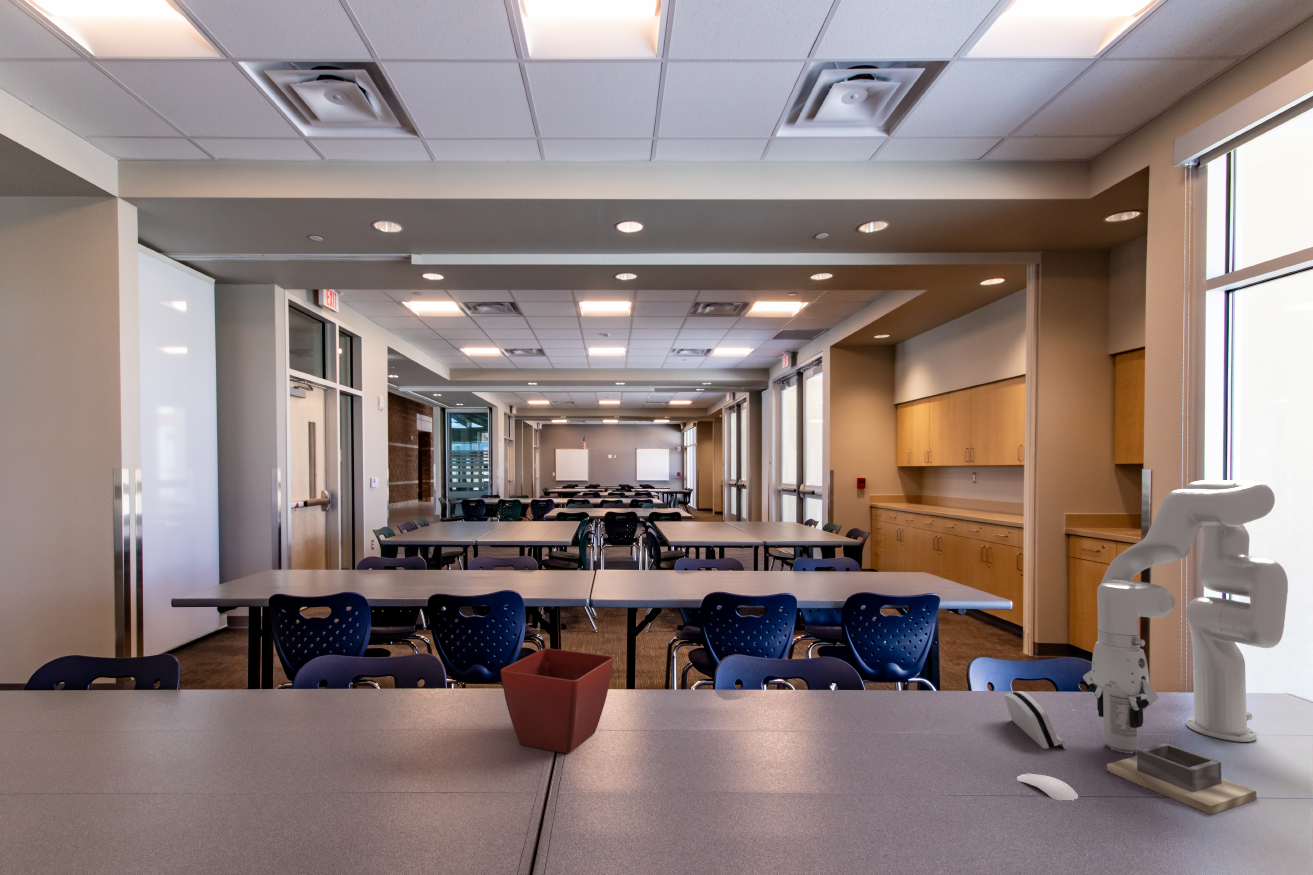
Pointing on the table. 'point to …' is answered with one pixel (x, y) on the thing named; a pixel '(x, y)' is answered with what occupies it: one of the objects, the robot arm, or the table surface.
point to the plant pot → (556, 697)
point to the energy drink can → (1118, 719)
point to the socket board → (1183, 778)
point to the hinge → (1032, 719)
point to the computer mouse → (1050, 786)
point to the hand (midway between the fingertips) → (1119, 720)
